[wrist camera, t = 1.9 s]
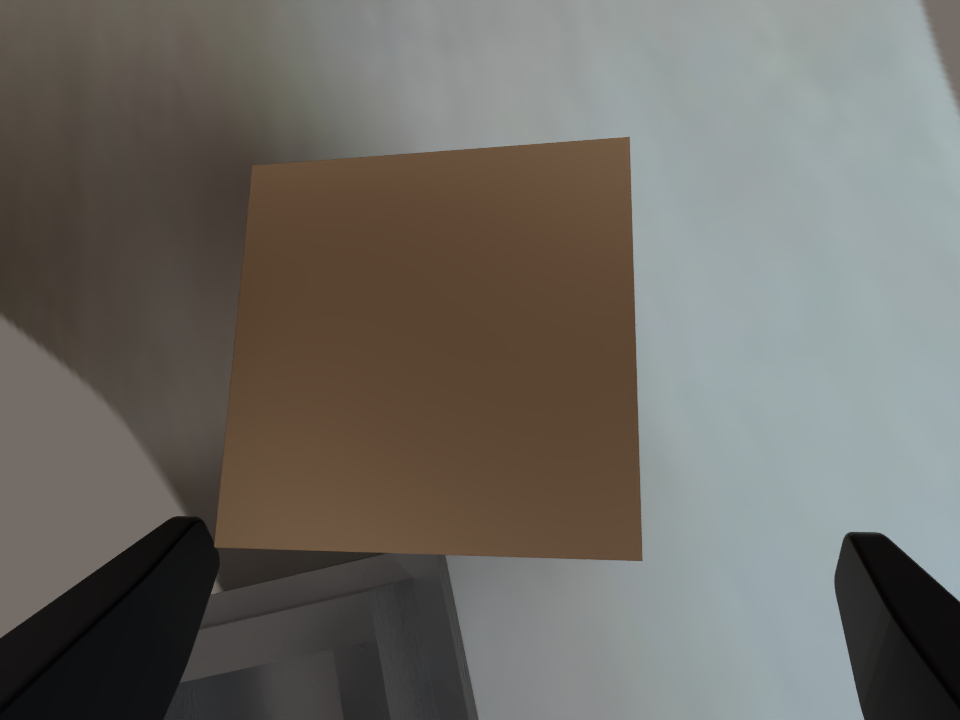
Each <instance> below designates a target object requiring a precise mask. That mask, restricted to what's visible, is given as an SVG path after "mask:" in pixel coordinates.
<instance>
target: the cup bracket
mask: <svg viewBox="0 0 960 720" xmlns="http://www.w3.org/2000/svg"><path fill="white" fill-rule="evenodd" d="M164 720H478V715H477V710H476V705H475V700H474V696H473V691H472V686H471V681H470V676H469V671H468V666H467V661H466V656H465V651H464V646H463V641H462V636H461V632H460V627H459V622H458V617H457V612H456V607H455V602H454V597H453V592H452V587H451V582H450V577H449V573H448V568H447V563H446V558H445V555H437V554H405V553H387V554H383V555H378V556H374V557H370V558H365V559H361V560H357V561H353V562H348V563H344V564H340V565H336V566H331V567H327V568H323V569H319V570H314V571H310V572H306V573H302V574H297V575H293V576H289V577H285V578H280V579H276V580H272V581H268V582H263V583H259V584H255V585H250V586H246V587H242V588H238V589H233V590H229V591H225V592H221V593H216V594H212V595H210V597H209V601H208V604H207V607H206V610H205V613H204V616H203V619H202V622H201V625H200V628H199V631H198V634H197V637H196V641H195V644H194V647H193V650H192V652H191V655H190V658H189V661H188V664H187V666H186V669H185V671H184V674H183V676H182V678H181V681H180V683H179V685H178V688H177V690H176V692H175V695H174V697H173V699H172V701H171V704H170V706H169V708H168V711H167V713H166V715H165V717H164Z"/></svg>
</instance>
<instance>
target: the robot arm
mask: <svg viewBox="0 0 960 720" xmlns="http://www.w3.org/2000/svg"><path fill="white" fill-rule="evenodd" d="M218 569H219V553H218V550H217V548H215V547H214V542H213V540H212V537H211V535H210V533H209V531H208V529H207V526H206V524H205V523H204V521H203V520H202V519H201V518H199V517H187V516H177V517H173V518H171V519H169V520H167V521H166V522H165V523H163V524H162V525H160V526H159V527H157V528H156V529H155V530H153V531H152V532H150V533H149V534H147V535H146V536H145V537H143V538H142V539H140V540H139V541H138V542H136V543H135V544H133V545H132V546H131V547H129V548H128V549H126V550H125V551H123V552H122V553H121V554H119V555H118V556H116V557H115V558H113V559H112V560H111V561H109V562H108V563H106V564H105V565H104V566H102V567H101V568H99V569H98V570H96V571H95V572H94V573H92V574H91V575H89V576H88V577H87V578H85V579H84V580H82V581H81V582H79V583H78V584H77V585H75V586H74V587H72V588H71V589H70V590H68V591H67V592H65V593H64V594H63V595H61V596H60V597H58V598H57V599H55V600H54V601H53V602H51V603H50V604H48V605H47V606H45V607H44V608H43V609H41V610H40V611H38V612H37V613H36V614H34V615H33V616H31V617H30V618H28V619H27V620H26V621H24V622H23V623H21V624H20V625H18V626H17V627H16V628H14V629H13V630H11V631H10V632H9V633H7V634H6V635H4V636H3V637H2V638H0V720H164V717H165V715H166V713H167V711H168V708H169V706H170V704H171V701H172V699H173V697H174V695H175V692H176V690H177V688H178V685H179V683H180V681H181V678H182V676H183V674H184V671H185V669H186V666H187V664H188V661H189V658H190V655H191V652H192V650H193V647H194V644H195V641H196V637H197V634H198V631H199V628H200V625H201V622H202V619H203V616H204V613H205V610H206V607H207V604H208V601H209V597H210V594H211V591H212V588H213V585H214V582H215V579H216V576H217V573H218ZM834 583H835V593H836V597H837V602H838V607H839V611H840V616H841V620H842V625H843V630H844V634H845V639H846V643H847V648H848V653H849V657H850V662H851V666H852V671H853V675H854V680H855V685H856V689H857V693H858V698H859V702H860V706H861V710H862V713H863V716H864V720H960V602H959V601H958V600H957V599H956V598H955V597H954V596H953V595H952V594H950V593H949V592H948V591H947V590H946V589H945V588H944V587H943V586H942V585H940V584H939V583H938V582H937V581H936V580H935V579H934V578H933V577H931V576H930V575H929V574H928V573H927V572H926V571H925V570H924V569H922V568H921V567H920V566H919V565H918V564H917V563H916V562H915V561H914V560H912V559H911V558H910V557H909V556H908V555H907V554H906V553H905V552H903V551H902V550H901V549H900V548H899V547H898V546H897V545H896V544H894V543H893V542H892V541H891V540H890V539H889V538H888V537H886V536H885V535H883V534H881V533H877V532H849V533H847V534H846V535H845V537H844V539H843V543H842V547H841V551H840V555H839V559H838V563H837V567H836V572H835V579H834Z"/></svg>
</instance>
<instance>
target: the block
mask: <svg viewBox="0 0 960 720" xmlns="http://www.w3.org/2000/svg"><path fill="white" fill-rule="evenodd" d="M214 547H215V548H247V549H278V550H310V551H342V552H374V553H405V554H437V555H469V556H500V557H532V558H564V559H596V560H627V561H642V533H641V500H640V467H639V434H638V401H637V368H636V335H635V302H634V269H633V236H632V203H631V170H630V137H623V138H610V139H597V140H584V141H570V142H557V143H544V144H531V145H518V146H504V147H491V148H478V149H465V150H451V151H438V152H425V153H412V154H399V155H385V156H372V157H359V158H346V159H333V160H319V161H306V162H293V163H280V164H266V165H253V166H252V173H251V183H250V193H249V203H248V213H247V223H246V233H245V243H244V253H243V263H242V273H241V283H240V293H239V303H238V313H237V323H236V333H235V343H234V353H233V363H232V373H231V383H230V393H229V403H228V413H227V423H226V433H225V443H224V453H223V463H222V473H221V483H220V492H219V502H218V512H217V522H216V532H215V542H214Z"/></svg>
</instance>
